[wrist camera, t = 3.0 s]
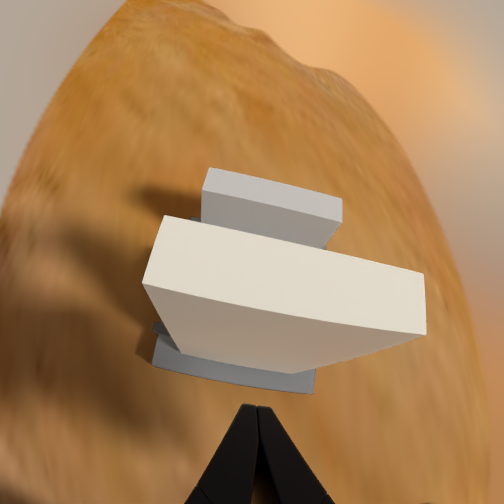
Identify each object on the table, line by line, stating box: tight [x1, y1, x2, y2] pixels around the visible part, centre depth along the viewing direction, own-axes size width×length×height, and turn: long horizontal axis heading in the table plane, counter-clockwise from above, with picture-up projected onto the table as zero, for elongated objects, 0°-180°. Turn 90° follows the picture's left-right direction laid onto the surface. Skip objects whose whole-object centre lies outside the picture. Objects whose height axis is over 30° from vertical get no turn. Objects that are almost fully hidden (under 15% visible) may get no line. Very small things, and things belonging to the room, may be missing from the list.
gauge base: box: [151, 167, 342, 394], centre depth 16 cm, size 10×9×6 cm
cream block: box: [142, 215, 426, 374], centre depth 11 cm, size 2×9×11 cm, turn 80°
